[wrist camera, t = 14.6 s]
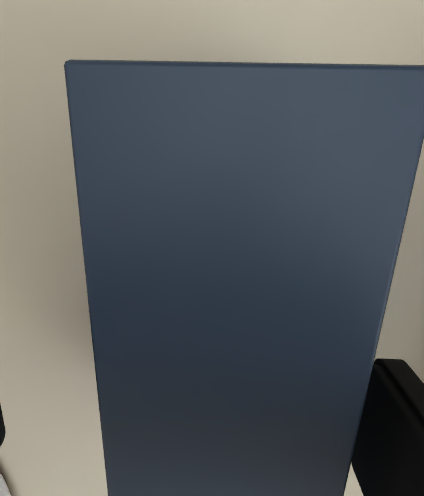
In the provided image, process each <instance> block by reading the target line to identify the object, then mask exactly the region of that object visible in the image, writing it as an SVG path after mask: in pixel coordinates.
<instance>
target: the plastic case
mask: <svg viewBox="0 0 424 496" xmlns="http://www.w3.org/2000/svg"><path fill="white" fill-rule="evenodd" d="M64 69H65V78H66V88H67V98H68V108H69V117H70V127H71V137H72V147H73V157H74V166H75V176H76V186H77V196H78V205H79V215H80V225H81V235H82V245H83V254H84V264H85V274H86V284H87V293H88V303H89V313H90V323H91V333H92V342H93V352H94V362H95V372H96V381H97V391H98V401H99V411H100V421H101V430H102V440H103V450H104V460H105V469H106V479H107V489H108V496H344V491H345V487H346V482H347V478H348V473H349V469H350V465H351V460H352V456H353V451H354V447H355V442H356V438H357V433H358V429H359V424H360V420H361V416H362V411H363V407H364V402H365V398H366V393H367V389H368V384H369V380H370V375H371V371H372V367H373V362H374V358H375V353H376V349H377V344H378V340H379V335H380V331H381V326H382V322H383V317H384V313H385V309H386V304H387V300H388V295H389V291H390V286H391V282H392V277H393V273H394V268H395V264H396V260H397V255H398V251H399V246H400V242H401V237H402V233H403V228H404V224H405V219H406V215H407V211H408V206H409V202H410V197H411V193H412V188H413V184H414V179H415V175H416V170H417V166H418V162H419V157H420V153H421V148H422V144H423V139H424V65H374V64H311V63H248V62H185V61H123V60H68V61H66V62H65V65H64Z"/></svg>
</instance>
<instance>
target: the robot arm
mask: <svg viewBox="0 0 424 496" xmlns="http://www.w3.org/2000/svg"><path fill="white" fill-rule="evenodd" d="M4 437H5V425H4V420H3V415H2V410H1V405H0V446H1V445H2V443H3V441H4ZM351 463H352V467H353V470H354V472H355V475H356V477H357V480H358V482H359V485H360V487H361V490H362V493H363V495H364V496H424V383H423V382H422V381H421V380H420V379H419V377H418V376H417V375H416V374H415V373H414V371H413V370H412V369H411V368H410V366H409V365H408V364H407V363H406V362H405V361H404V360H401V359H381V358H378V359H376V360H375V361H374V364H373V367H372V371H371V375H370V380H369V384H368V389H367V393H366V398H365V402H364V407H363V411H362V416H361V420H360V424H359V429H358V433H357V438H356V442H355V447H354V451H353V456H352V460H351ZM0 496H11V494H10V492H9V489H8V487H7V485H6V482H5V480H4V478H3V476H2V475H1V473H0Z"/></svg>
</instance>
